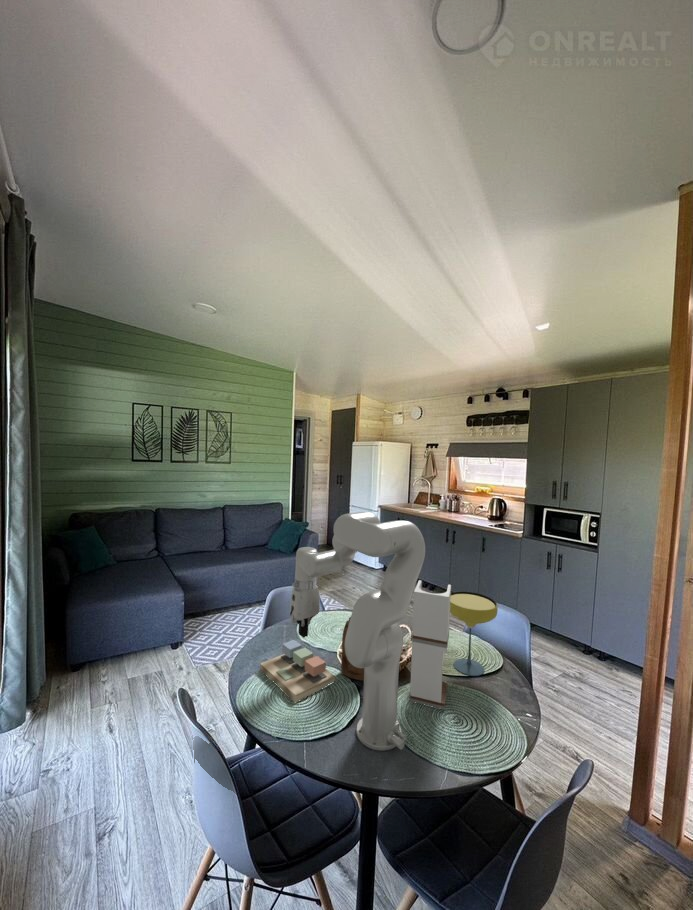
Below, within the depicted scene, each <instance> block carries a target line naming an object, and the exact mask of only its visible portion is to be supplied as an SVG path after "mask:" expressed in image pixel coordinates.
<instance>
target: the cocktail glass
mask: <svg viewBox="0 0 693 910" xmlns="http://www.w3.org/2000/svg"><path fill="white" fill-rule="evenodd" d="M498 608H499V607H498V603H497V602H496V600H494V599H493V598H491V597H489V596H487V595H485V594H481V593H477V592H472V591H471V592H470V591H455V592H451V597H450V615H452V616H453V617H455V618H456V619H458V620H460V621H462V622H464V623H465V625H466V626H467V628H469V633H468V634H469V635H468V639H469V640H468V652H467V653H468V654H467V658H458V659H456V660H454V662H453V666H454V668H455V669H456V671H458V672H459V673H461V674H464V675H465V676H470V677H479V676H481V675H483V674H484V673H485V667H484V666H483V665H482V664H481V663H480V662H478V661H476V660H473V659H472V658H471V656H472V655H471V653H472V652H471V651H472V649H471V648H472V647H471V645H472V629H473V628H474V627H476V626H477V625H478V624H479V625H481V624H485V623H489V622H492V621H493V620H495V618H496V617H497V614H498V610H499V609H498Z"/></svg>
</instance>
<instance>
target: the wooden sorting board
mask: <svg viewBox="0 0 693 910" xmlns="http://www.w3.org/2000/svg"><path fill="white" fill-rule="evenodd" d="M259 671H260V672H261V673H262V672H263V673H264V674H265V675H267V676H268V677H269V678H270V679H271V680H272V681H274V683H276V684H277V685H278V686H279V687H280V688H281V689H282V690H283V691H284V692H285V693H286V694H287V695H288V696H289V697H290V698H291V699H292V700H293V701H294V702H293V701H292V700H291V699H290V698H289V697H288V696H287V695H286V694H285V693H284V692H283V691H282V690H281V691H282V692H283V693H284V694H285V695H286V696H287V697H288V698H289V699H290V700H291V701H292V702H293V703H295V702H297V701H299V700H301V699H302V700H304V699H306V698H308V697H310V696H312V695H314V694H316V693H318V692H320V691H321V690H320V689H322V688H324V687H325V686H327V685H328V684H330V683H332V682H334V681H336V675H335V674H333V673H332V672H330V671H329V670H328V669H326V671H325V672H322V673H320V674H318V675H316V676H314V677H313V676H312V675H311V674H310V673H308V672H307V671H306V670H305V666H302V667H301V666H299V665H298V664H297V663H295V662H294V661H293V657H291V658H289V657H288V656H287V655H285V654H284V653H283V654H281V655H278V656H276V657H273V658H270V659H268V660H266V661H263V662H261V663H260V664H259ZM263 673H262V674H263ZM264 674H263V675H264ZM265 675H264V676H265ZM268 677H267V678H268ZM269 678H268V679H269ZM270 679H269V680H270ZM271 680H270V681H271ZM272 681H271V682H272ZM274 683H273V684H274ZM324 689H325V688H324ZM319 690H320V691H319ZM322 690H323V689H322ZM317 691H318V692H317ZM315 692H316V693H315ZM313 693H314V694H313ZM311 694H312V695H311ZM309 695H310V696H309ZM307 696H308V697H307ZM305 697H306V698H305ZM303 698H304V699H303ZM302 700H301V701H302ZM299 702H300V701H299ZM297 703H298V702H297Z"/></svg>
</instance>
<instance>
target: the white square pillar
mask: <svg viewBox="0 0 693 910" xmlns="http://www.w3.org/2000/svg"><path fill="white" fill-rule="evenodd" d="M422 582H423V581H422V580H420V579H419V580H418V582H417V583H416V585H415V589H414V592H413V605H412V606H413V607H412V610H413V611H412V635H411V637H412V639H411V663H410V688H409V689H410V690H409V692H410V693H409V702H410V701H411V702H410V703H412V702H414V703H413V704H416V703H420V704H425V705H429V706H433V707H436V708H441V709H445V708H446V702H445V701H447V693H446V692H448V682H446V681H443V665H444V664H443V663H445V654H447V653H448V646H449V637H450V622H451V621H450V619H451V618H450V617H451V613H450V597H451V593H452V591H451V590H452V585H451V584H448V585H447V590H446V591H445V592H441V593H434V592H433V593H432V592H427V591H424V590H423V589H422ZM415 702H416V703H415ZM420 704H419V705H420ZM436 708H435V709H436ZM445 710H446V709H445Z"/></svg>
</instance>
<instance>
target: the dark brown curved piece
mask: <svg viewBox="0 0 693 910" xmlns="http://www.w3.org/2000/svg"><path fill="white" fill-rule="evenodd" d="M350 618H351V616H349V618H348V619H347V620H346V622H345V624H344V626H343V627H344V628H343V632H342V640H341V642H342V643H341V659H340V660H341V663H340V667H341V668H340V669H341V674H342V675H344V676H346V677H348V678H349V679H353V680H356V681H364V669H365V668H357V667H355V666H353V665H352V664H351V663H350V662H349V661H348V659H347V656H346V653H345V637H346V633H347V629H348V626H349V622H350Z"/></svg>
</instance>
